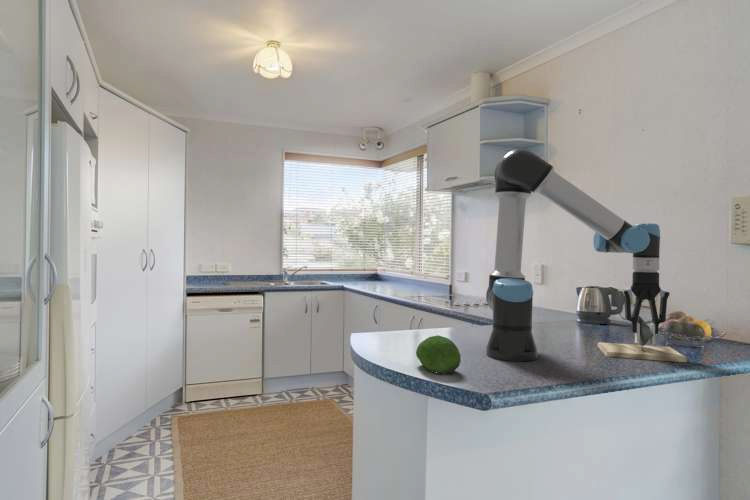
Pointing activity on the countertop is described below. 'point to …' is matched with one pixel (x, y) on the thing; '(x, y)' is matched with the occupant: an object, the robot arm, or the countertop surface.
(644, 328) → the stone
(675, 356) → the board
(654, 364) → the countertop surface
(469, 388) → the countertop surface
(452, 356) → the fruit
